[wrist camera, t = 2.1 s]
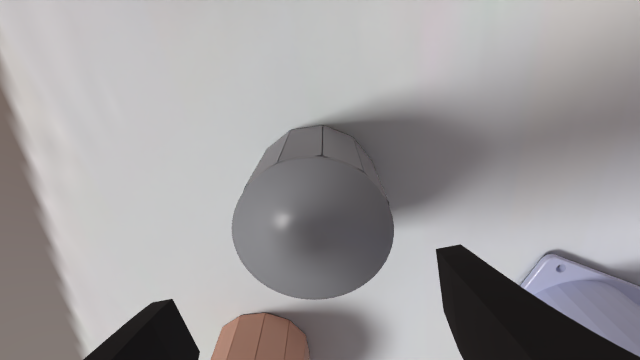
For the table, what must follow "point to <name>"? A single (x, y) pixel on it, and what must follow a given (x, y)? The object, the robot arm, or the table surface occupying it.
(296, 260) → the gray domed cylinder
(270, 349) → the peach domed cylinder
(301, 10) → the table surface
